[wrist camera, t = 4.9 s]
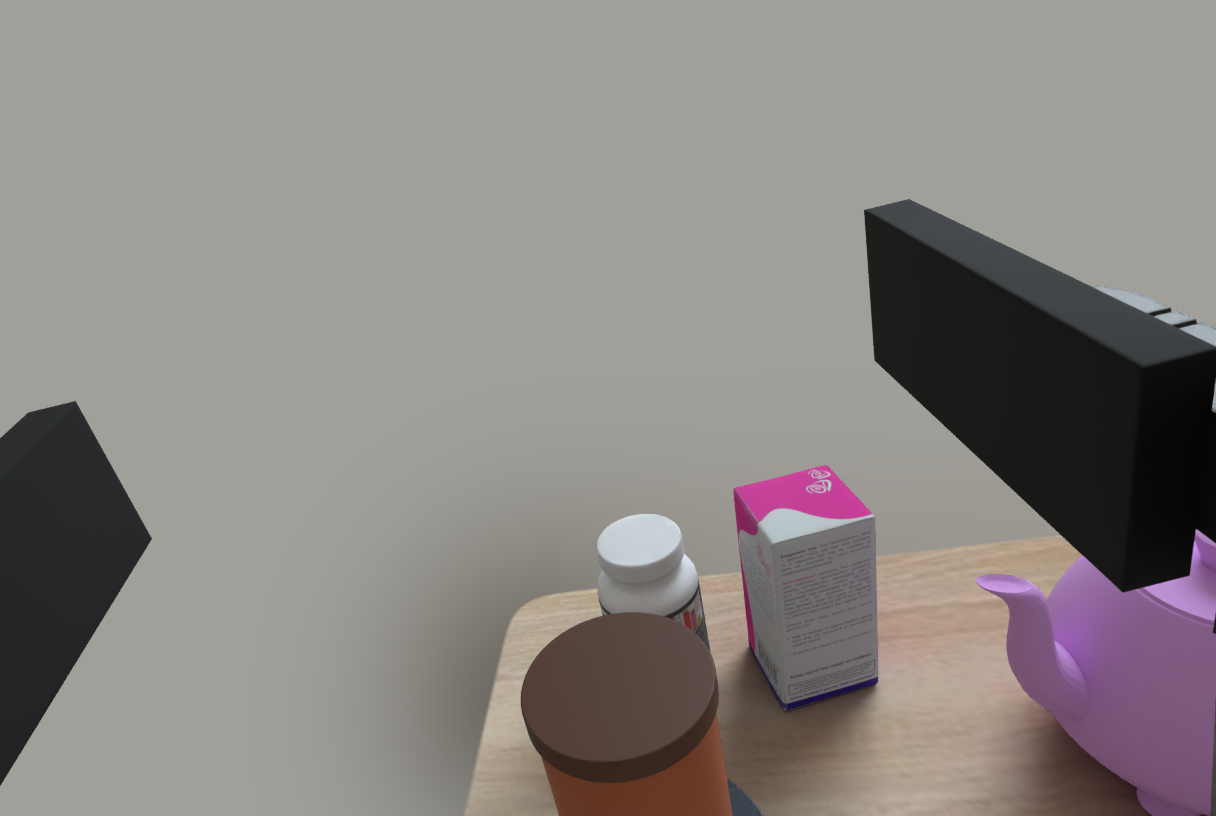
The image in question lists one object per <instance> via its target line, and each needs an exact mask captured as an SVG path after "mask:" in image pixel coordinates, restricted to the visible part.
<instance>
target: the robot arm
mask: <svg viewBox="0 0 1216 816" xmlns="http://www.w3.org/2000/svg"><path fill="white" fill-rule="evenodd" d="M864 215H865V229H866V244H867V258H868V273H869V287H870V300H871V316H872V329H873V345H874V359H875V361H876V362H877V363H878V364H879V365H880V366H881V367H882V368H883V369H884V370H885V371H886V372H888V373H889V374H890V375H891V376H892V377H893V378H894V379H895V380H896V381H897V382H898V383H900V385H901V386H902V387H904V388H905V389H906V390H907V391H908V392H909V393H910V394H911V395H912V396H913V397H914V398H915V399H916V400H917V401H919V402H920V403H921V404H922V405H923V406H924V407H925V408H926V409H927V410H928V411H929V412H930V413H932V415H933V416H935V417H936V418H937V419H938V420H939V421H940V422H941V423H942V424H943V425H944V426H945V427H946V428H947V429H948V430H949V431H951V432H952V433H953V434H954V435H955V436H956V437H957V438H958V439H959V440H960V441H961V442H962V443H964V445H966V446H967V447H968V448H969V449H970V450H971V451H972V452H973V453H974V454H975V455H976V456H977V457H978V458H979V459H980V460H981V461H983V462H984V463H985V464H986V465H987V466H988V467H989V468H990V469H991V470H992V471H993V472H994V473H995V474H996V475H998V476H999V477H1000V478H1001V479H1002V480H1003V481H1004V482H1005V483H1006V484H1007V485H1008V486H1010V488H1011V489H1013V490H1014V491H1015V492H1016V493H1017V494H1018V495H1019V496H1020V497H1021V498H1022V499H1023V500H1024V501H1025V502H1026V503H1027V504H1028V505H1030V506H1031V507H1032V508H1033V509H1034V510H1035V511H1036V512H1037V513H1038V514H1039V515H1040V516H1041V517H1042V518H1044V519H1045V520H1046V521H1047V522H1048V523H1049V524H1050V525H1051V526H1052V527H1053V528H1054V529H1055V530H1056V531H1057V532H1059V534H1061V535H1062V536H1063V537H1064V538H1065V539H1066V540H1067V541H1068V542H1069V543H1070V544H1071V545H1072V546H1073V547H1074V548H1075V549H1077V550H1078V551H1079V552H1080V553H1081V554H1082V555H1083V556H1084V557H1085V558H1086V559H1087V560H1088V561H1089V562H1090V563H1091V564H1093V565H1094V566H1095V567H1096V568H1097V569H1098V570H1099V571H1100V572H1101V573H1102V574H1103V575H1104V576H1105V577H1106V578H1108V579H1109V580H1110V581H1111V582H1112V583H1113V584H1114V585H1115V586H1116V587H1117V588H1118V589H1119V590H1120V591H1121V592H1122V593H1124V592H1128V591H1132V590H1136V589H1140V588H1144V587H1148V586H1151V585H1155V584H1159V583H1163V582H1167V581H1171V580H1175V579H1179V578H1183V577H1187V576H1190V570H1191V563H1192V555H1193V548H1194V540H1195V533H1196V529H1197V530H1198V531H1200V532H1201V533H1202V534H1204V535H1205V536H1206V537H1208V538H1209V539H1210V540H1212V541H1213V542H1214V543H1216V328H1214V327H1212V326H1209V325H1207V324H1205V323H1199V324H1197V322H1196V319H1194V318H1192V317H1190V316H1188V315H1185V314H1183V313H1181V312H1179V311H1174V312H1171V308H1170V307H1168V306H1165V305H1163V304H1161V303H1159V302H1157V301H1155V300H1152V299H1150V298H1148V297H1146V296H1144V295H1141V294H1138V293H1134V292H1128V291H1124V290H1119V289H1113V288H1109V287H1104V286H1099V285H1098V286H1094V287H1091V286H1089V285H1087V284H1085V283H1083V282H1081V281H1079V280H1076V279H1074V278H1072V277H1070V276H1068V275H1066V274H1064V273H1062V272H1060V271H1058V270H1056V269H1053V268H1051V267H1049V266H1047V265H1045V264H1043V263H1041V262H1039V261H1037V260H1035V259H1032V258H1031V257H1028V256H1026V255H1024V254H1022V253H1020V252H1018V251H1016V250H1014V249H1012V248H1010V247H1008V246H1005V245H1003V244H1001V243H999V242H997V241H995V240H993V239H991V238H989V237H987V236H985V235H983V234H981V233H979V232H976V231H974V230H972V229H970V228H968V227H966V226H964V225H962V224H960V223H958V222H956V221H954V220H951V219H949V218H947V217H945V216H943V215H941V214H938V213H937V212H935V211H933V210H931V209H929V208H926V207H924V206H922V205H920V204H918V203H916V202H914V201H912V200H910V199H908V200H904V201H899V202H895V203H891V204H887V205H884V206H879V207H875V208H870V209H866V210H864ZM151 539H152V538H151V537H150V535H149V533H148V531H147V529H146V528H145V526H144V524H143V522H142V520H141V518H140V517H139V515H138V513H137V511H136V510H135V508H134V506H133V504H132V502H131V501H130V499H129V497H128V495H127V493H126V491H125V490H124V488H123V486H122V484H121V482H120V480H119V479H118V477H117V475H116V473H115V471H114V470H113V468H112V466H111V464H110V463H109V461H108V459H107V457H106V455H105V453H104V452H103V450H102V448H101V446H100V444H99V443H98V441H97V439H96V437H95V435H94V434H93V432H92V430H91V428H90V426H89V425H88V423H87V421H86V419H85V417H84V416H83V414H82V412H81V410H80V408H79V407H78V405H77V403H76V401H74V402H70V403H66V404H62V405H58V406H54V407H49V408H46V409H41V410H37V411H33V412H29V413H27V414H26V415H25V416H24V417H23V418H22V419H21V420H20V421H19V422H18V423H16V424H15V425H14V426H13V427H12V428H11V429H10V430H9V431H8V432H7V433H5V434H4V435H3V436H2V437H1V438H0V785H1V784H2V782H3V781H4V778H5V777H6V776H7V774H8V772H9V771H10V769H11V767H12V766H13V764H14V763H15V761H16V759H17V758H18V756H19V754H20V753H21V751H22V750H23V748H24V746H25V745H26V743H27V741H28V740H29V738H30V736H31V735H32V733H33V732H34V730H35V728H36V727H37V725H38V723H39V722H40V720H41V718H42V717H43V715H44V714H45V712H46V710H47V709H48V707H49V706H50V704H51V702H52V701H53V699H54V697H55V696H56V694H57V693H58V691H59V689H60V688H61V686H62V684H63V683H64V681H65V680H66V678H67V676H68V674H69V673H70V671H71V670H72V668H73V666H74V665H75V663H76V661H77V660H78V658H79V657H80V655H81V653H82V652H83V650H84V649H85V647H86V645H87V644H88V642H89V640H90V639H91V637H92V635H93V634H94V632H95V631H96V629H97V627H98V626H99V624H100V622H101V621H102V619H103V618H104V616H105V614H106V612H107V611H108V609H109V608H110V606H111V604H112V603H113V601H114V599H115V598H116V596H117V595H118V593H119V592H120V589H121V588H122V587H123V585H124V583H125V582H126V580H127V579H128V577H129V575H130V574H131V572H132V570H133V569H134V567H135V565H136V564H137V562H138V561H139V559H140V557H141V556H142V554H143V552H144V551H145V549H146V548H147V546H148V544H149V543H150V541H151ZM1213 633H1215V634H1216V614H1215V620H1214V627H1213ZM1210 816H1216V700H1215V722H1214V745H1213V767H1212V789H1211V811H1210Z"/></svg>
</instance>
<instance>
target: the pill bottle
mask: <svg viewBox="0 0 1216 816" xmlns="http://www.w3.org/2000/svg"><path fill="white" fill-rule="evenodd" d="M597 552H598V557H599V562H600V566H601V568H602V572H601V574H600V577H599V580H598V596H599V602H600V605H601V610H602V614H603V616H604V615H609V614H615V613H625V612H641V613H650V614H656V615H660V616H664V617H667V618H670V619H673V620H675V621H677V622H679V623H681V624H683V625H685V626H686V627H688V628H689V629H691V630H692V631H693V632H694V633H696V634H697V635H698V636H699V637H700V639H701V640H702V641H703V642H704V643H705V645H706V646H707V648H708V649H709V651H710V646H709V641H708V635H707V629H706V623H705V617H704V611H703V605H702V598H701V592H700V586H699V580H698V575H697V572H696V569H695V567H694V565H693V564H692V562H691V561H690V559H689V558H688V557H687V556H686V555H684V545H683V541H682V536H681V532H680V529H679V528H678V526H677V525H676V524H675V523H674V522H673V521H672V520H670V519H668V518H666V517H663V516H660V515H654V514H639V515H633V516H628V517H625V518H622V519H620V520H618V521H616V522H614V523H613V524H611V525H610V526H608V527H607V528H606V529H605V530H604V531H603V532H602V534H601V535H600V537H599V539H598V542H597ZM710 653H711V652H710Z"/></svg>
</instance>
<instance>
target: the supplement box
mask: <svg viewBox="0 0 1216 816" xmlns="http://www.w3.org/2000/svg"><path fill="white" fill-rule="evenodd" d="M734 502H735V511H736V521H737V532H738V541H739V551H740V558H741V569H742V578H743V588H744V598H745V609H746V618H747V627H748V638H749V646H750V649H751V651H752V653H753V655H754V657H755V659H756V660H757V662H758V664H759V666H760V668H761V670H762V672H763V674H764V675H765V677H766V679H767V681H768V683H769V685H770V686H771V688H772V690H773V692H774V694H775V695H776V697H777V699H778V701H779V703H780V704H781V706H782V708H783V710H784V711H789V710H793V709H797V708H800V707H803V706H806V705H809V704H812V703H816V702H819V701H822V700H826V699H828V698H832V697H835V696H838V695H842V694H846V693H849V692H853V691H856V690H859V689H863V688H866V687H869V686H872V685H875V684H876V683H877V682H878V632H877V586H876V541H875V540H876V533H875V516H874V515H873V514H872V513H871V512H870V511H869V510H868V509H867V508H866V507H865V505H864V504H863V503H862V502H861V501H860V500H859V499H858V498H857V497H856V496H855V495H854V494H853V493H852V491H850V489H849V488H848V487H847V486H846V485H845V484H844V483H843V482H842V481H841V480H840V479H839V478H838V477H837V475H836V474H835V473H834V472H833V471H832V470H831V469H830V468H829V467H828V466H827V465H824V466H819V467H815V468H812V469H808V470H804V471H801V472H797V473H793V474H790V475H786V476H782V477H778V478H774V479H770V480H766V481H762V482H758V483H753V484H749V485H745V486H741V487H736V488H735V489H734Z"/></svg>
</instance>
